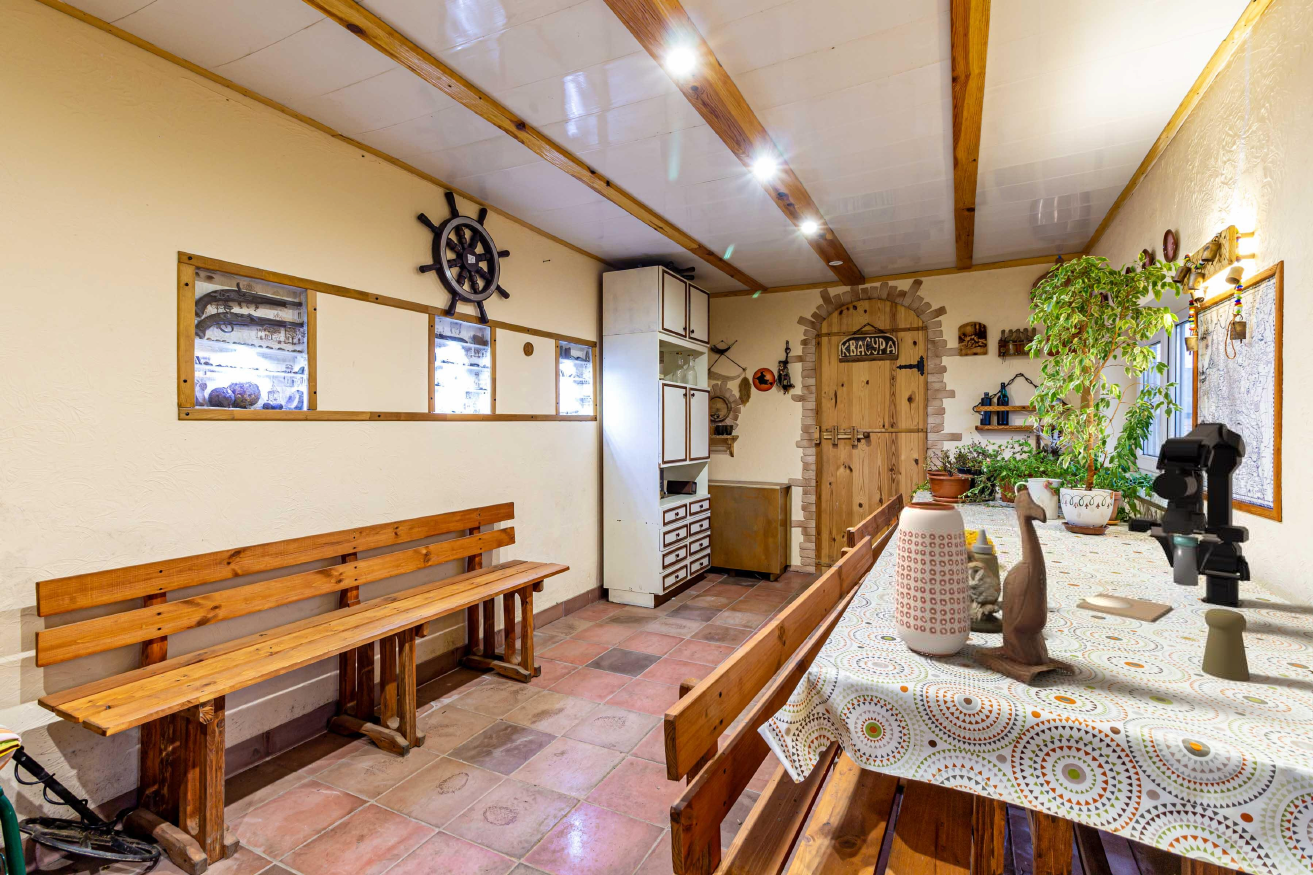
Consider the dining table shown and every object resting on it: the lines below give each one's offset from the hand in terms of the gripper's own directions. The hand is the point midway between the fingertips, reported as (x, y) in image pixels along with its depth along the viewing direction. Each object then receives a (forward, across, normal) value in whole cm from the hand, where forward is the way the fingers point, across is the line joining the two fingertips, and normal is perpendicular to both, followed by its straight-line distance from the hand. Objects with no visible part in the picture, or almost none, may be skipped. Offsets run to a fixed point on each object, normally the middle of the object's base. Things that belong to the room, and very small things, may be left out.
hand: (1185, 569), depth 127 cm
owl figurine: (+12, -31, -35) cm, 48 cm away
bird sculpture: (+12, -11, -53) cm, 55 cm away
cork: (+12, +11, -28) cm, 32 cm away
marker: (+3, 0, 0) cm, 3 cm away
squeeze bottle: (+12, -34, -18) cm, 40 cm away
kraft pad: (+12, -12, +4) cm, 17 cm away
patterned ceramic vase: (+12, -26, -56) cm, 63 cm away
